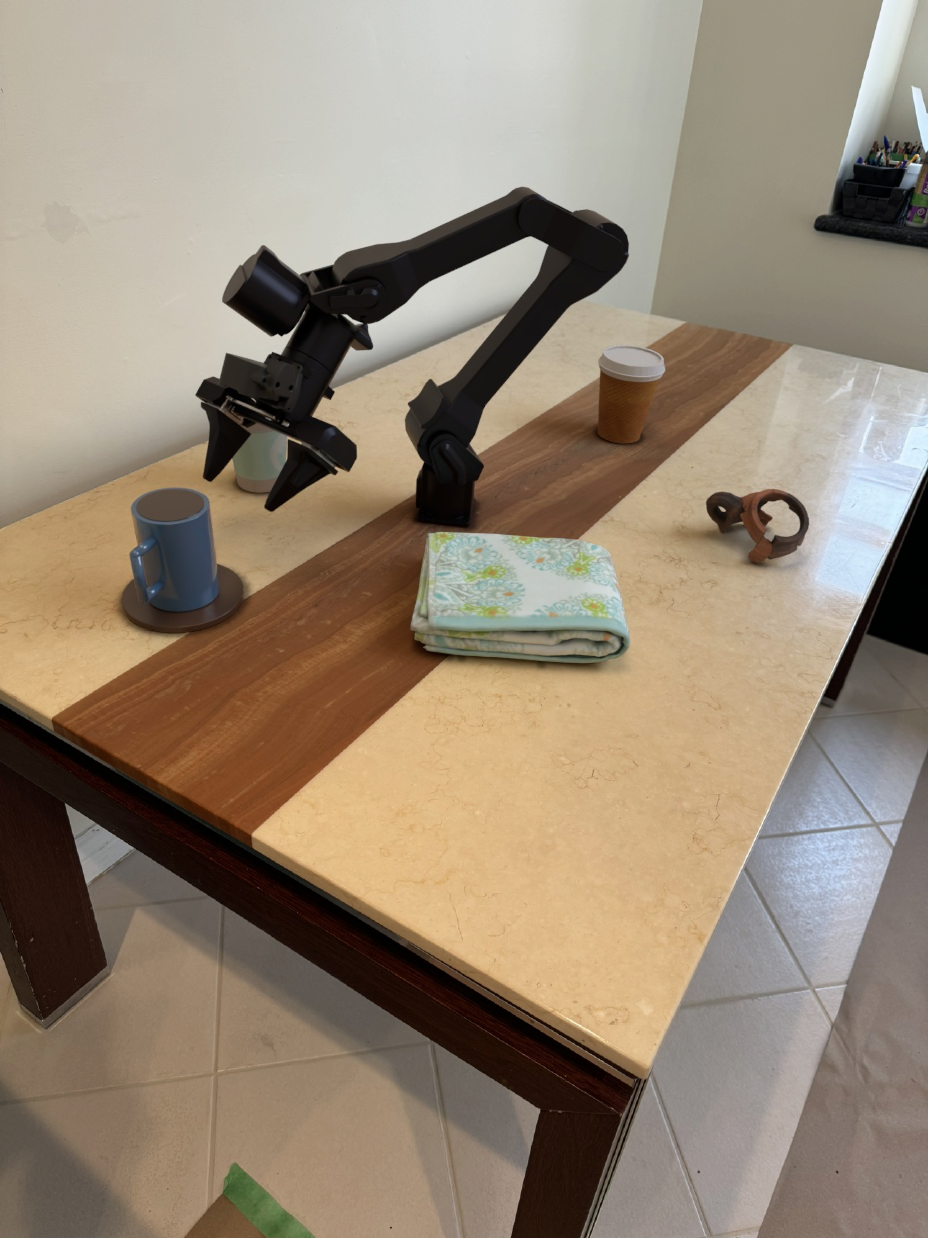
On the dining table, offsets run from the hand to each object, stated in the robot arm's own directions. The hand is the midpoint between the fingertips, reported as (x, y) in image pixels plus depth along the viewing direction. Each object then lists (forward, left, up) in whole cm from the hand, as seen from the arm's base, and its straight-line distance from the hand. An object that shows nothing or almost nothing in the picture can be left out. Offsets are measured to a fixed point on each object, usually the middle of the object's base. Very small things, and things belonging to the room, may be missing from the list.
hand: (236, 494), depth 90 cm
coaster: (+4, +7, -9) cm, 12 cm away
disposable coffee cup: (-42, -46, -9) cm, 63 cm away
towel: (-30, +2, -9) cm, 31 cm away
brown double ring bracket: (-57, -18, -9) cm, 61 cm away
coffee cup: (+4, -19, -9) cm, 21 cm away
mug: (+4, +8, -8) cm, 12 cm away
